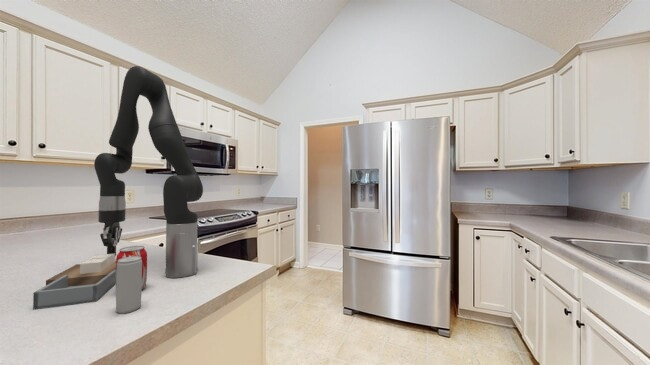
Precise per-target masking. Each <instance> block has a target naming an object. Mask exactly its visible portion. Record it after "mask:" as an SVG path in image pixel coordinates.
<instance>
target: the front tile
mask: <svg viewBox="0 0 650 365" xmlns="http://www.w3.org/2000/svg"><path fill="white" fill-rule="evenodd" d="M107 267H108V258H102V259H90V258H89V259H86V260H85V261H83V262H81V263H80V274H85V273H96V272H102V271H103V270H104V269H106V268H107Z"/></svg>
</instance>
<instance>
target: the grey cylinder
mask: <svg viewBox="0 0 650 365" xmlns="http://www.w3.org/2000/svg"><path fill="white" fill-rule="evenodd" d="M141 287H142V260H141V257H138V256H135V257H126V258H122V259H119V260H118V263H117V279H116V284H115V290H116V291H115V292H116V293H115V311H116V312H117V313H118V314H128V313H131V312H132V313H133V312H134V311H137V310H138V309H139V308H140V307H141V306H142V290H141Z"/></svg>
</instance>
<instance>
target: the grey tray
mask: <svg viewBox="0 0 650 365" xmlns="http://www.w3.org/2000/svg"><path fill="white" fill-rule="evenodd" d="M114 286H116V270H114V271H112V272H111V273H109V274H108V275H107V276H106V277H104V278H103V279H102V280H100V281H99V282H98V283H96V284H89V285H80V286H71V287H68V275H64V276H62V277H61V278H59V279H57V280H55V281H53V282H52V283H50V284H48V285H46V284H45V286H42V287H41V288H40V289H38V290H36V291H34V292H33V299H32V301H33V302H32V303H33V304H32V306H33V307H32V309H33V310H41V309H49V308H57V307H64V306H72V305H79V304H86V303H87V304H88V303H95V302H99V300H100V299H101V298H103V296H105V294H106V293H108V292H109V291H110V290H111V289H112V288H113V287H114Z"/></svg>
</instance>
